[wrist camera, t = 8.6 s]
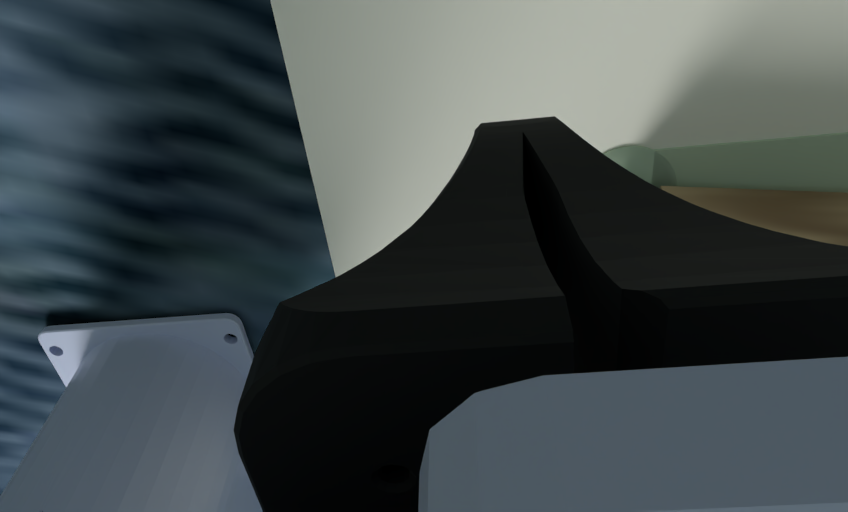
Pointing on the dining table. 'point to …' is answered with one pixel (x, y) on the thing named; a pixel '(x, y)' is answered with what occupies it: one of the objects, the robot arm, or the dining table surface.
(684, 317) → the robot arm
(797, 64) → the card
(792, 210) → the folding fence panel
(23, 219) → the dining table surface
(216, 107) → the dining table surface
